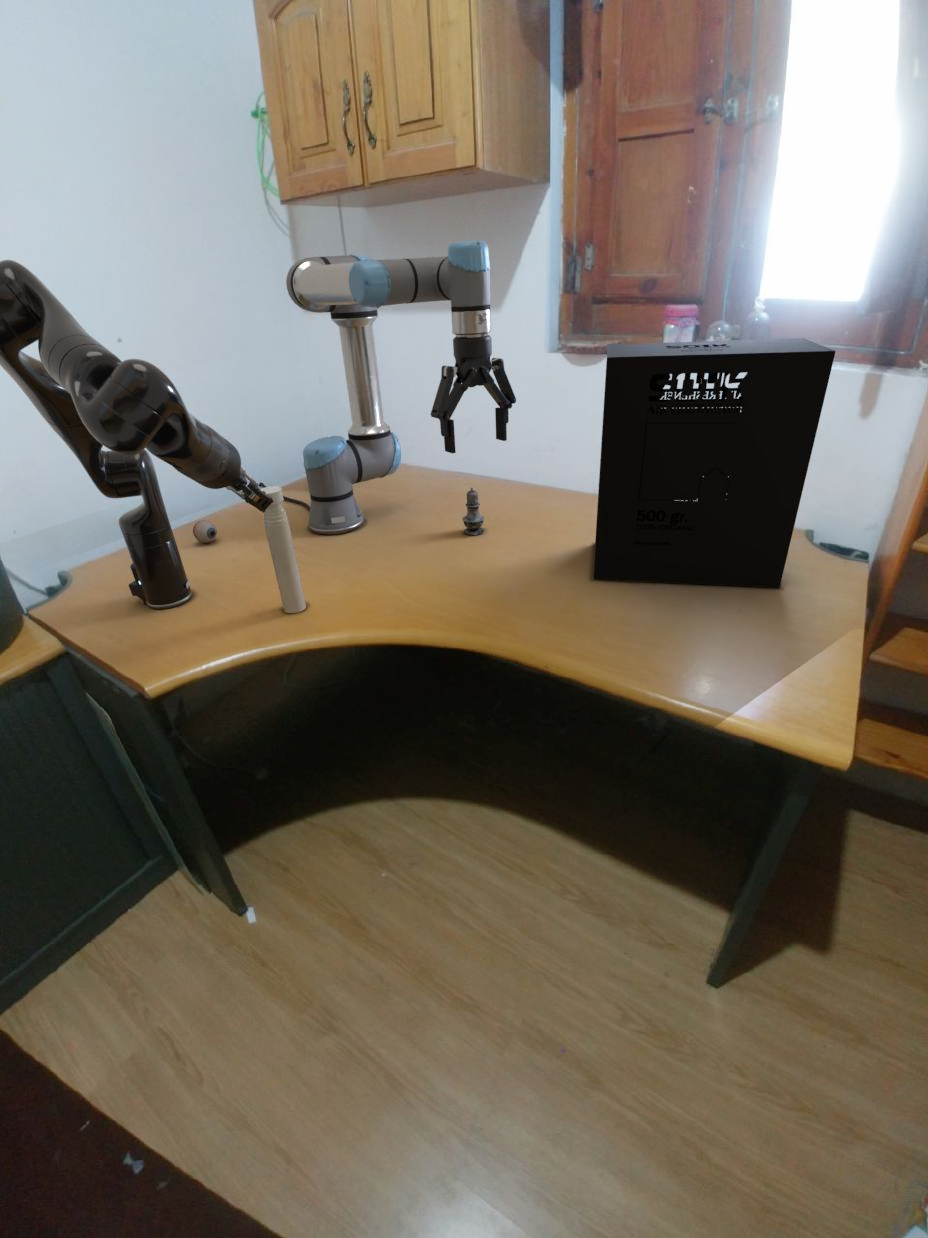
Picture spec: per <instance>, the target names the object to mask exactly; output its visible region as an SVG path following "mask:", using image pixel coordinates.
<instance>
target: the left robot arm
mask: <svg viewBox="0 0 928 1238" xmlns="http://www.w3.org/2000/svg"><path fill="white" fill-rule="evenodd" d="M36 342H38V343H37V349H38V356H39V359H37V358H35V357H34V356H31V355H29V354H27V353H26V352H24V351H22V350H23V349H26V348H27V347H28V346H31V345H32V344H34V343H36ZM0 367H1V368H2V369H3V370H4V372H6V373H7V375H9V377H11V379H12V380H13V381H14V382H15V384H17V386H18V387H19V388H20V389H21V391H22V392H23V393H24V395H25V396H26V397H27V398H28V400H29V401H30V402H31V404H32V405H33V406H34V408H35V409H36V410H37V412H38V413H39V414H40V416H41V417H42V418H43V419H44V420H45V421H46V423H47V424H48V425H49V427H51V429H52V430H53V431H54V433H56V434H57V436H59V438H60V439H61V440H62V441H63V442H64V443H65V445H66V446H67V447H68V448H69V450H70V451H71V452H72V453H73V454H74V456H75V458H76V459H77V460H78V462H79V463H80V465H81V466H82V467H83V469H84V470H85V472H86V474H87V475H88V477H89V478H90V480H91V481H92V483H93V485H94V486H95V488H96V489H97V490H98V491H99V492H100V494H102V495H103V496H104V497H106V498H108V499H124V498H133V497H140V496H141V497H142V502H141V503H140V504H139V505H138V506H136V507H134V508H132V509H130V510H128V511H126V512H125V513H123V514H122V515H120V516H119V518H118V525H119V529H120V532H121V533H122V537H123V539H124V542H125V545H126V547H127V550H128V554H129V556H130V558H131V561H132V563H131V564H130V567H129V568H130V571H131V574H132V575H133V579H134V580H133V581H131V582H130V583H129V584H128V588H129V590H130V594H131V596H132V597H138V598H139V599H140V600H142V604H143V605H145V606H147V607H148V608H150V609H153V610H165V609H171V608H175V607H178V606H181V605H182V604H185V603H186V602H188V601H190V599H191V598H192V597H193V591H192V589H191V586H190V583H191V580H190V578H188V577H187V574H186V570H185V567H184V564H183V561H182V557H181V554H180V551H179V548H178V545H177V541H176V538H175V535H174V532H173V528H172V525H171V522H170V518H169V516H168V513H167V508H166V506H165V502H164V499H163V496H162V492H161V487H160V484H159V480H158V476H157V475H158V474H157V471H156V468H155V465H154V462H153V459H152V456H151V455H153V456H154V457H156V458H157V459H159V460H161V461H163V462H165V463H167V464H168V465H169V466H171V467H172V468H173V469H175V470H176V471H177V472H179V473H180V474H182V475H183V476H185V477H186V478H188V479H191V480H192V481H194V482H196V483H197V484H199V485H201V486H203V487H205V488H207V489H212V490H220V489H224V488H225V489H226V490H227V491H232V493H234V494H236V495H237V496H238V497H239V498H240V499H242V500H244V501H245V503H246V504H249V505H251V506H252V507H254V508H255V509H257V510H258V511H260V512H262V514H263V513H264V512H265V511H266V509H267V508H268V507H269V506H270V505H271V503H273V502H274V501H273V500H272V498H271V497H270V496H269V495H267V494H266V492H265V491H262V490H261V488H260V486H259V483H258V482H257V481H256V480H255V479H254V478H253V477H252V476H250V475H249V474H248V473H247V472H246V470H245V469H244V468H243V467H242V459H241V455H240V452H239V451H238V449H237V447H235V445H233V443H231V442H230V441H229V440H227V439H226V438H225V437H224V436H222V434H220V433H219V432H218V431H216V430H215V429H214V428H212V427H210V426H209V425H208V424H205V423H204V422H202V421H201V420H199V419H198V418H196V416H194V415H193V414H192V413H191V412H189V410H188V408H187V406H186V403H185V402H184V400H183V398H182V395H181V393H180V392H179V390H178V389H177V388H176V386H175V384H174V383H173V381H172V380H171V379H170V378H169V377H168V375H166V373H164V372H163V371H162V369H160V368H159V367H158V366H156V365H155V364H153V363H152V362H149V361H147V360H143V359H141V358H127V359H124V360H121V359H120V358H119V357H118V356H117V355H116V354H115V353H113V352H112V351H111V350H109V349H108V348H107V347H105V346H104V345H103V344H102V343H101V342H100V341H98V340H97V339H95V337H93V336H92V335H90V333H89V332H87V331H86V329H84V327H83V326H82V325H81V324H80V322H78V320H77V319H76V318H75V317H74V315H73V314H72V313H71V312H70V311H69V310H68V308H67V307H65V305H64V304H63V303H62V302H61V301H60V299H58V298H57V296H56V295H55V294H54V293H53V292H52V290H51V289H49V288H48V287H47V285H45V284H44V283H43V282H42V280H41V279H40V278H39V277H38V276H37V275H36V274H34V273H33V271H31V270H30V269H29V268H27V267H26V266H25V265H23V264H22V263H20V262H18V261H16V260H12V259H3V260H0ZM103 446H104V447H105V448H107V449H108V450H103V449H102V448H103ZM150 454H151V455H150ZM248 482H249V483H248Z"/></svg>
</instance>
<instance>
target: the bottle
mask: <svg viewBox="0 0 928 1238" xmlns="http://www.w3.org/2000/svg"><path fill="white" fill-rule="evenodd" d="M262 517H263V526H264V530H265V535H266V539H267V543H268V548H269V551H270V556H271V560H272V561H271V562H272V565H273V569H274V573H275V578H276V582H277V587H278V590H279V595H280V599H281V604H282V608H283V611H284V612H285V613H287V614H297V613H301V612H302V611H304V610H305V609H306V608H307V603H306V598H305V593H304V588H303V584H302V578H301V574H300V569H299V565H298V560H297V559H298V558H297V554H296V550H295V545H294V541H293V535H292V531H291V526H290V521H289V519H288V515H287V512H286V510H285V508H284V505H283V503H282V502H280V503H278V504H274V505H270V506H269V507H268V508H267V509H266V511H265V512H264V513H263V512H262Z"/></svg>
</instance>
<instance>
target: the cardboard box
mask: <svg viewBox="0 0 928 1238" xmlns="http://www.w3.org/2000/svg"><path fill="white" fill-rule="evenodd" d="M835 356H836V350H834V349H831V348H829V347H827V346H824V345H821V344H819V343H816V342H814V341H812V340H810V339H806V338H804V337H799V338H798V337H797V338H796V337H795V338H794V337H793V338H767V339H766V338H765V339H737V340H736V339H735V340H732V339H731V340H707V341H705V340H703V341H675V342H672V341H671V342H670V341H669V342H648V343H647V342H646V343H645V342H644V343H643V342H642V343H639V342H638V343H613V344H612V343H611V344H609V343H607V349H606V363H605V364H606V365H605V367H606V368H605V381H604V396H603V411H602V412H603V413H602V429H601V444H600V445H601V446H600V461H599V477H598V479H599V480H598V494H597V507H596V508H597V509H596V511H597V512H596V523H595V524H596V525H595V538H594V539H595V540H594V559H593V561H594V562H593V579H592V580H595V581H612V582H613V581H616V582H617V581H618V582H636V583H638V582H639V583H660V584H661V583H662V584H680V585H681V584H682V585H683V584H684V585H706V586H726V587H727V586H729V587H748V588H749V587H750V588H751V587H752V588H770V589H771V588H772V589H780V588H781V583H782V579H783V575H784V571H785V567H786V562H787V558H788V554H789V550H790V545H791V542H792V539H793V538H792V537H793V533H794V529H795V524H796V521H797V516H798V512H799V507H800V505H801V504H800V503H801V499H802V495H803V491H804V488H805V487H804V486H805V483H806V478H807V475H808V474H807V473H808V469H809V465H810V461H811V457H812V452H813V450H814V449H813V448H814V444H815V441H816V437H817V431H818V428H819V423H820V420H821V415H822V410H823V407H824V402H825V398H826V393H827V389H828V385H829V381H830V377H831V372H832V368H833V365H834V360H835ZM741 373H746V374H745V375H744V377H741V378H738V376H739V374H741ZM682 374H684V378H683V381H682V385H681V386H682V388H678V385H679V384H678V383H679V379H678V377H679V376H680V375H682ZM692 374H696V378H695V379H694V378H691V376H692ZM706 374H707V378H705V375H706ZM723 375H724V376H723ZM727 377H729V378H728V381H727V382H728V385H729V384H731V385H732V384H738V385H737V387H727V385H726V379H727ZM722 379H723V380H722ZM694 384H696V385H697V384H698V387H695V388H694ZM708 384H713V388H712V387H711V388H710V387H709V388H708ZM666 386H668V387H669V388H665V387H666Z"/></svg>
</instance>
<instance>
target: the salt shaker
mask: <svg viewBox="0 0 928 1238" xmlns="http://www.w3.org/2000/svg"><path fill="white" fill-rule="evenodd" d="M465 507H466V511H467V512H466V515H465V516H463V517H462V518H461V520H462V522H463V524H464V527H465V529H464V530H463V533H464V534H465V535H468V536H477V535H481V534H483V533H484V531H485V530H484V528H482V526H483V524H484V520H485V516H484V515H481V513H480V503H479V494H478V492H477V490H474V488H473V487H470V490H469V491H467V492H466V503H465Z"/></svg>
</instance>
